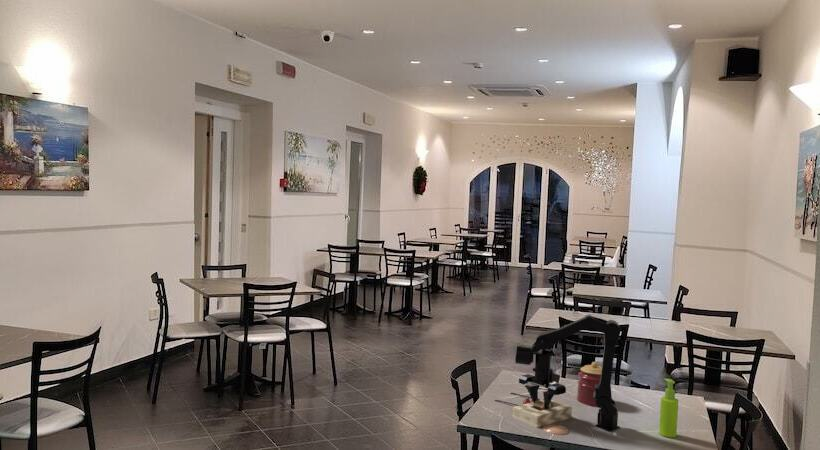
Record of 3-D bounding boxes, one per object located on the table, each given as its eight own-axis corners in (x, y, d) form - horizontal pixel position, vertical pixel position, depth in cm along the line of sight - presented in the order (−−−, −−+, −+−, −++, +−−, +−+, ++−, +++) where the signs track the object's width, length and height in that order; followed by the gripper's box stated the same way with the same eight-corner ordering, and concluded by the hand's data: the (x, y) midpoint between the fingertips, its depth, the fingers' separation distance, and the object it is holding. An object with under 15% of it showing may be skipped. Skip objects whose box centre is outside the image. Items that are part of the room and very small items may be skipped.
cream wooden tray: (546, 410, 255) (547, 398, 255) (571, 419, 245) (571, 406, 245) (512, 420, 243) (512, 407, 242) (536, 429, 233) (537, 416, 233)
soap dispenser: (670, 430, 237) (673, 377, 237) (679, 437, 231) (682, 383, 230) (655, 430, 237) (658, 377, 236) (663, 437, 230) (666, 382, 229)
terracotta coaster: (573, 433, 231) (573, 430, 231) (557, 438, 226) (557, 435, 226) (553, 425, 238) (553, 422, 238) (537, 430, 233) (537, 427, 233)
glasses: (524, 413, 251) (524, 401, 251) (488, 404, 261) (488, 392, 261) (540, 405, 262) (540, 393, 262) (504, 396, 272) (505, 385, 272)
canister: (611, 410, 259) (613, 367, 258) (578, 407, 261) (580, 364, 260) (606, 400, 272) (608, 359, 271) (575, 397, 274) (577, 356, 273)
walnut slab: (542, 416, 248) (545, 411, 249) (551, 420, 244) (554, 414, 245) (533, 404, 244) (536, 399, 245) (542, 408, 240) (545, 402, 241)
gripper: (576, 368, 240) (574, 409, 241) (537, 357, 255) (535, 396, 255) (557, 373, 233) (555, 415, 234) (518, 361, 248) (517, 401, 249)
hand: (540, 406), depth 243 cm, fingers open, 5 cm apart
